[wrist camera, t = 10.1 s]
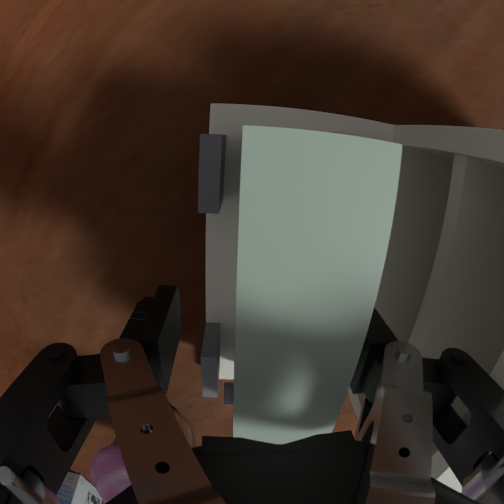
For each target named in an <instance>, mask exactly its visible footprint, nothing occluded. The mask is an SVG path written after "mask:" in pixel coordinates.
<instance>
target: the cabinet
mask: <svg viewBox="0 0 504 504" xmlns="http://www.w3.org/2000/svg"><path fill="white" fill-rule="evenodd" d="M243 125H247V126H266V127H280V128H292V129H303V130H313V131H322V132H330V133H337V134H345V135H352V136H358V137H365V138H371V139H376V140H382V141H387V142H393V143H398V144H403V145H402V156H401V166H400V174H399V182H398V190H397V197H396V204H395V210H394V216H393V222H392V228H391V234H390V239H389V244H388V249H387V254H386V259H385V264H384V268H383V273H382V277H381V281H380V286H379V290H378V294H377V298H376V302H375V306H374V308H375V309H376V310H377V311H378V312H379V314H380V315H381V318H383V319H384V321H385V322H386V324H387V325H388V327H389V328H390V329H391V331H392V332H393V334H394V335H395V337H396V338H397V339H398V341H401V342H406V343H409V344H411V345H413V346H415V347H416V348H417V349H418V350H419V351H420V353H421V355H422V357H423V358H432V359H439V358H440V356H441V354H442V352H443V351H444V350H445V349H447V348H457V349H460V350H463V351H464V352H466V353H468V354H469V355H470V356H471V357H472V358H473V359H474V360H475V361H476V362H477V363H478V364H479V365H480V366H481V367H482V368H483V369H484V370H485V371H486V372H487V373H488V374H489V375H490V376H491V377H492V379H493V380H494V381H495V382H496V383H497V384H498V385H499V386H500V387H501V388H502V389H503V390H504V130H499V129H489V128H477V127H463V126H442V125H392V124H387V123H382V122H378V121H373V120H368V119H363V118H357V117H352V116H346V115H340V114H333V113H327V112H319V111H312V110H304V109H295V108H285V107H274V106H262V105H246V104H219V103H211V105H210V122H209V134H200V150H199V180H198V213H206V326H205V332H204V338H203V344H202V350H201V375H202V391H203V397H215V398H218V385H219V379H232V380H234V345H235V306H236V273H237V243H238V216H239V191H240V168H241V146H242V130H243ZM348 394H349V397H350V400H351V403H352V405H353V408H354V411H355V414H356V416H357V419H358V421H359V417H360V413H361V408H362V404H363V401H364V399H365V397H366V396H365V394H364V393H360V394H353V393H352V390H351V388H350V386H349V389H348ZM451 406H452V407H453V409H454V410H455V411H456V412H457V414H458V415H459V416H460V418H461V419H462V420H463V421H464V423H465V424H466V425H467V426H468V424H469V423H470V420H471V413H470V411H469V409H468V408H467V407H466V406H465V404H464V403H463V402H462V401H461V399H460V398H459V397H458V396H457V397H456V398H455V400H454V401H453V403H452V405H451ZM431 477H433V478H434V479H436V480H438V481H440V482H441V483H443V484H445V485H447V486H448V487H450V488H452V489H454V490H456V491H458V492H459V493H460V492H462V486H461V484H460V482H459V481H458V479H457V478H456V476H455V475H454V473H453V472H452V470H451V468H450V467H449V465H448V464H447V462H446V461H445V459H444V458H443V456H442V455H441V453H440V452H439V450H438V449H437V447H436V446H435V444H434V443H432V466H431Z"/></svg>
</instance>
